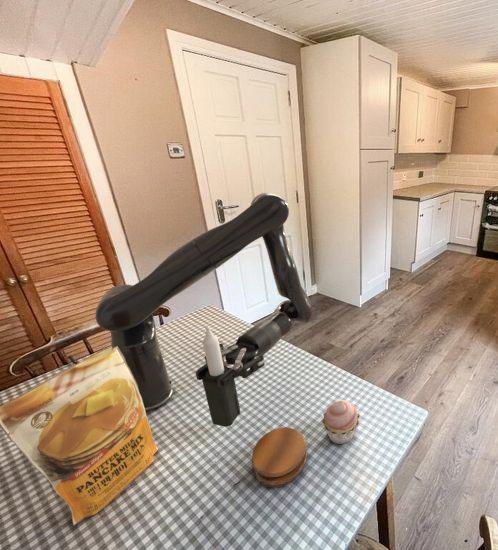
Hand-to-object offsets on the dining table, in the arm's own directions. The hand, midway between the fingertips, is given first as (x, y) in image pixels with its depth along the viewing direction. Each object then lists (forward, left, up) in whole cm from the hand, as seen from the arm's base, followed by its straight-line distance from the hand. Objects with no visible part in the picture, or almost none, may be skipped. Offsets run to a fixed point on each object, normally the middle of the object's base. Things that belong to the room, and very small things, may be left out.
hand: (208, 380), depth 65 cm
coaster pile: (+16, -4, -18) cm, 24 cm away
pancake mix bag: (-16, -12, -18) cm, 27 cm away
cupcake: (+28, +5, -18) cm, 34 cm away
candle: (+1, +2, -13) cm, 13 cm away
